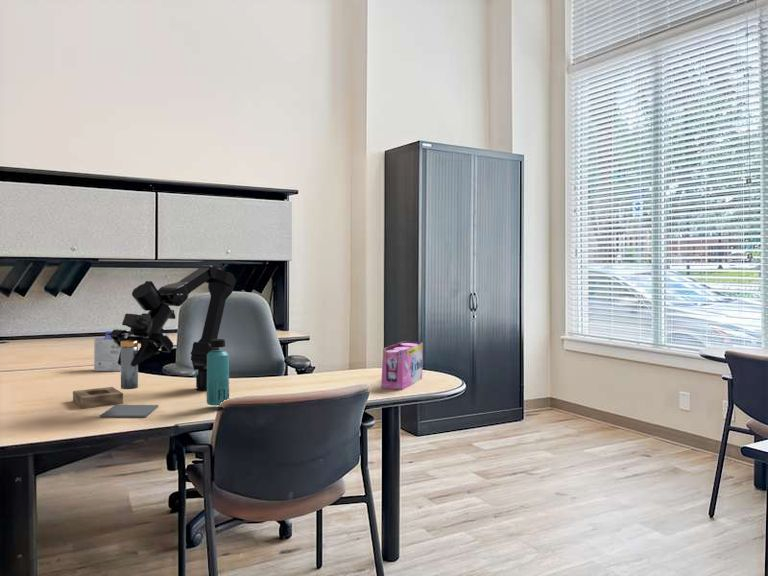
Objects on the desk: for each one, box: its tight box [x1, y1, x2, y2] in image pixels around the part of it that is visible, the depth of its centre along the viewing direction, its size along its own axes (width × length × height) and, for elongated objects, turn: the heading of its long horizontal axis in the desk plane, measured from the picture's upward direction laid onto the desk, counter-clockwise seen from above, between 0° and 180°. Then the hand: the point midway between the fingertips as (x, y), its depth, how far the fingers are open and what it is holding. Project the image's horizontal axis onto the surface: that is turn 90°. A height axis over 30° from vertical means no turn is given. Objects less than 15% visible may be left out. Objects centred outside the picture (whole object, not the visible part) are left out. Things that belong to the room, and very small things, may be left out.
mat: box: [99, 404, 159, 419], centre depth 172 cm, size 12×12×1 cm
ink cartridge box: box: [93, 330, 121, 372], centre depth 233 cm, size 10×6×14 cm, turn 96°
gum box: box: [380, 340, 424, 391], centre depth 219 cm, size 24×8×14 cm, turn 159°
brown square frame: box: [72, 386, 124, 409], centre depth 183 cm, size 11×11×3 cm
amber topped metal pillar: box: [120, 340, 139, 390], centre depth 172 cm, size 4×4×13 cm
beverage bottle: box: [205, 338, 231, 406], centre depth 178 cm, size 6×7×20 cm
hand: (125, 364), depth 170 cm, fingers closed on amber topped metal pillar, 4 cm apart
